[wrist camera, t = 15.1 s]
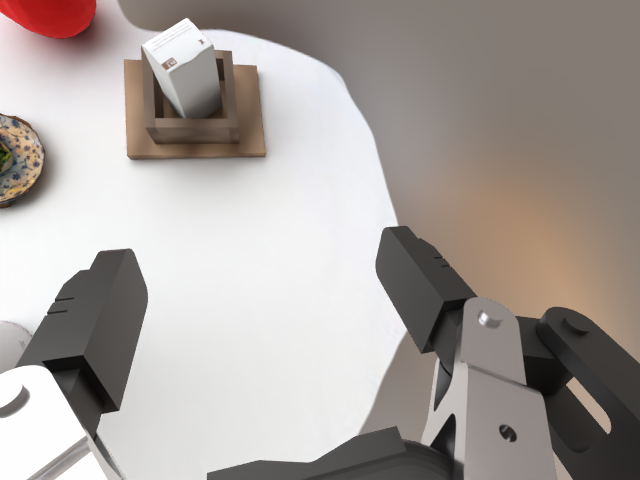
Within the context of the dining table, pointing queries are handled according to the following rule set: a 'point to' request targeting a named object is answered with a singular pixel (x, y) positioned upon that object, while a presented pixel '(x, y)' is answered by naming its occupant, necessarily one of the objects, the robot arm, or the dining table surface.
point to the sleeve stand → (193, 134)
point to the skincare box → (186, 70)
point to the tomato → (51, 15)
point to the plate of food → (18, 158)
